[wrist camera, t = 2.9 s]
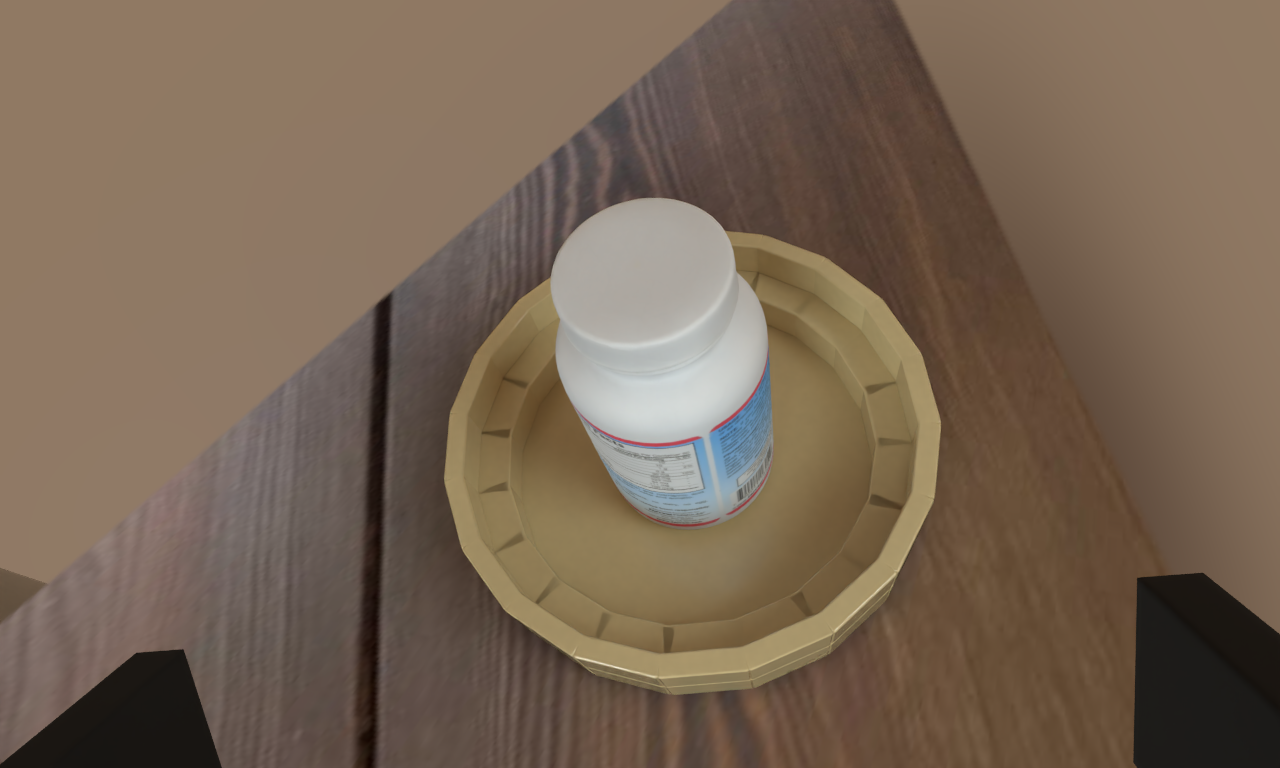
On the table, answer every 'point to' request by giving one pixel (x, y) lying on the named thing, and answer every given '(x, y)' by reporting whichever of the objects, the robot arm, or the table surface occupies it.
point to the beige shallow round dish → (725, 553)
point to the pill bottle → (666, 360)
